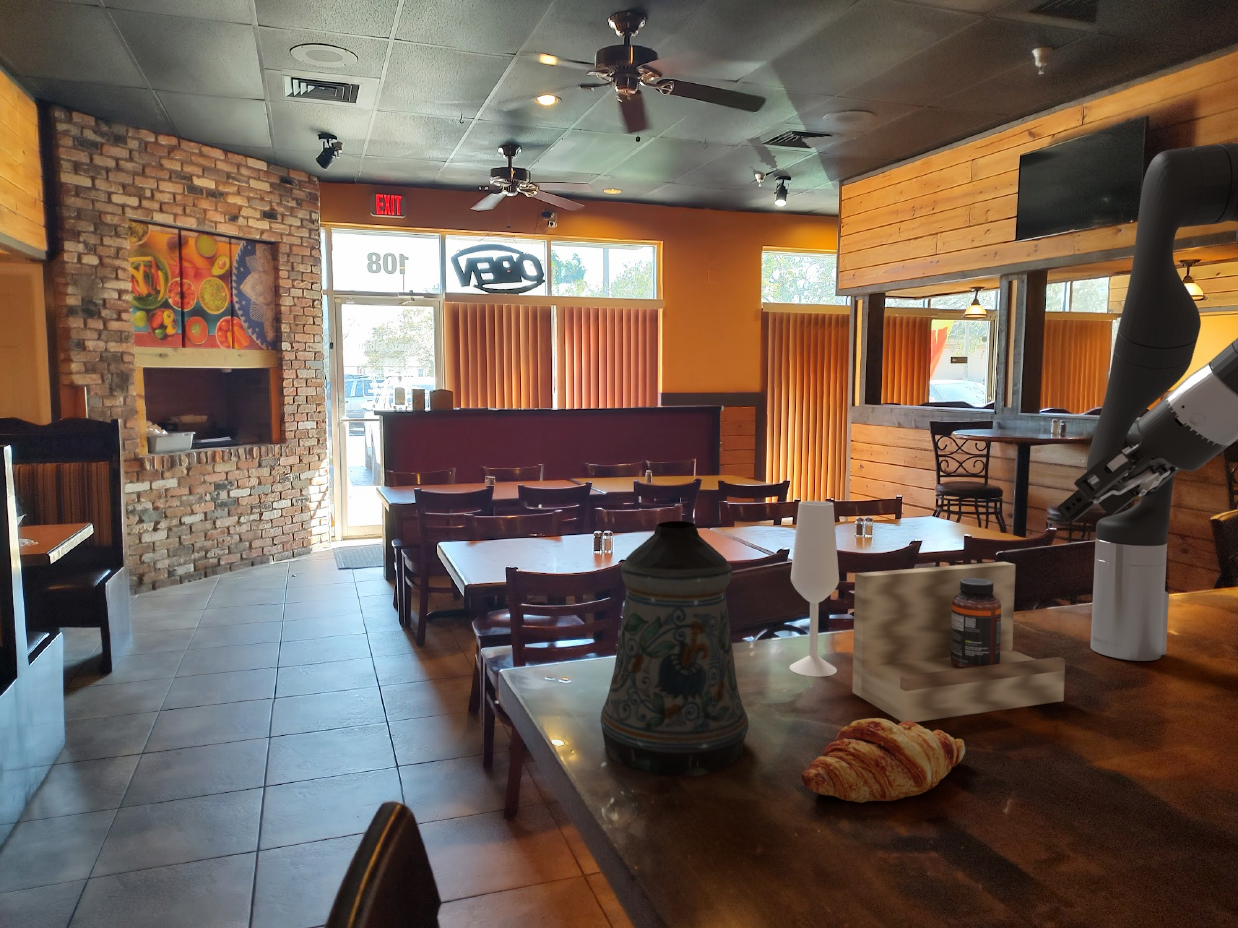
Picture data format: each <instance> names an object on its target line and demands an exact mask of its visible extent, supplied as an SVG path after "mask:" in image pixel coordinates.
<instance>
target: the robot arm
mask: <svg viewBox="0 0 1238 928" xmlns="http://www.w3.org/2000/svg"><path fill="white" fill-rule="evenodd" d="M1147 167H1148V168H1147V169H1146V172H1145V175H1144V179H1143V183H1142V187H1141V194H1140V201H1139V203H1140V204H1139V208H1138V209H1139V210H1138V216H1137V217H1138V218H1137V225H1136V234H1135V241H1134V251H1133V259H1132V267H1131V271H1130V276H1129V281H1128V286H1127V292H1126V296H1125V299H1124V304H1123V308H1122V312H1121V316H1120V318H1119V319H1120V320H1119V323H1118V327H1117V328H1118V329H1117V332H1116V336H1115V337H1116V338H1115V342H1114V347H1113V353H1112V358H1111V359H1112V360H1111V365H1110V370H1109V371H1110V372H1109V377H1108V383H1107V388H1106V392H1105V397H1104V401H1103V404H1102V408H1101V411H1100V415H1099V418H1098V420H1097V423H1096V427H1095V431H1094V433H1093V438H1092V439H1091V444H1090V446H1089V450H1088V451H1089V452H1088V456H1087V460H1086V461H1087V462H1086V472H1084V473H1083V474H1082V476H1080V477H1078V478H1077V479H1076V480H1075V481H1074V482H1073V485H1074V486H1075V487H1076V488H1077V490H1075V491H1074V492H1073V493H1072V494H1070V496H1069V497H1067V498H1066V499H1065V500H1064V501H1063V502H1061V503H1060V504H1059V505H1058V506H1057V511H1058V513H1059V514H1060V515H1061V517H1063V519H1064V520H1065V521H1066V522H1068V523H1072V522H1076V521H1077V520H1078V519H1080V517H1082V516H1083V515H1084V514H1085V513H1087V512H1088V511H1089V510H1091V509H1092V508H1093V507H1094V506H1095V505H1096V504H1098V505H1099V506H1100V507H1101V508H1102V510H1104V512H1105V513H1106V514H1107V515H1109V516H1104V517H1102V518H1100V519H1099V520H1098V521H1097V522H1096V524H1095V525H1096V527H1095V544H1094V545H1095V547H1094V565H1093V586H1092V587H1093V589H1092V608H1091V629H1090V631H1091V632H1090V649H1091V650H1092V651H1093V652H1095V653H1098V654H1100V655H1103V656H1106V657H1111V658H1114V659H1120V660H1125V661H1134V662H1135V661H1137V662H1141V661H1142V662H1146V661H1148V662H1149V661H1157V660H1159V659H1160V658H1161V657H1162V656H1165V655H1167V641H1168V640H1167V637H1168V622H1169V620H1168V619H1169V606H1170V605H1169V603H1170V602H1169V601H1170V594H1169V592H1167V591H1166V574H1167V573H1166V572H1167V570H1166V569H1167V553H1168V552H1167V551H1168V537H1169V535H1168V534H1169V529H1170V528H1169V527H1170V522H1171V510H1172V508H1171V507H1172V499H1173V491H1174V490H1173V489H1174V482H1175V475H1176V474H1178V472H1180V471H1182V470H1183V471H1185V472H1194V471H1197V470H1199V469H1201V468H1202V467H1203V466H1205V465H1206V464H1208V463H1209V462H1210V461H1211V460H1213V459H1214V458H1215V457H1217V456H1218V455H1219V454H1220V453H1222V452H1223V451H1224V450H1226V449H1227V448H1228V447H1230V446H1231V445H1232V444H1233V443H1234V442H1236V441H1237V440H1238V337H1236V339H1235V340H1233V341H1232V342H1231V343H1229V345H1227V346H1226V347H1225V348H1224V349H1222V350H1221V351H1220V352H1219V353H1218V354H1217V355H1216V356H1214V357H1213V358H1212V359H1211V361H1208V362H1207V363H1206V364H1205V365H1203V366H1202V367H1200V368H1198V369H1197V370H1196V371H1194V372H1193V373H1191V374H1190V375H1188V377H1187V378H1185V379H1184V380H1182V381H1181V382H1180V383H1179V384H1178V385H1177V386H1176V387H1174V389H1172V390H1171V388H1173V386H1175V385H1176V384H1177V383H1178V382H1179V381H1180V380H1181V379H1182V378H1183V377H1184V376H1185V374H1186V373H1187V371H1188V370H1189V368H1190V366H1191V364H1192V360H1193V356H1194V353H1195V348H1196V346H1197V342H1198V338H1199V335H1200V330H1201V324H1202V321H1201V315H1200V311H1199V308H1198V306H1197V304H1196V302H1195V301H1194V298H1193V297H1192V295H1191V293H1190V291H1189V289H1188V288H1187V286H1186V285H1185V283H1184V281H1183V280H1182V278H1181V276H1180V274H1179V271H1178V269H1177V267H1176V265H1175V260H1174V243H1175V238H1176V235H1177V231H1178V230H1179V229H1181V228H1188V227H1199V226H1207V225H1209V226H1211V225H1217V224H1222V223H1225V222H1235V223H1238V143H1237V142H1227V143H1226V142H1224V143H1215V144H1209V145H1199V146H1190V147H1189V146H1188V147H1180V148H1179V147H1178V148H1172V149H1167V150H1164V151H1161V152H1159V153H1158V154H1156V155H1155V156H1154V157H1153V158H1152V160H1151V161H1150V163H1149V165H1148V166H1147ZM1236 228H1237V229H1236V235H1235V242H1236V246H1237V247H1236V248H1237V249H1238V227H1236ZM1169 390H1171V391H1170V392H1169V393H1168V394H1167V395H1165V394H1166V393H1167V392H1168V391H1169ZM1164 395H1165V396H1164ZM1162 396H1164V397H1163V398H1162V399H1161V400H1160V401H1158V400H1159V399H1160V398H1161V397H1162ZM1157 401H1158V402H1157ZM1155 402H1157V403H1156V404H1155V405H1154V406H1153V407H1151V406H1152V405H1153V404H1154V403H1155ZM1149 407H1151V408H1150V409H1149ZM1147 409H1149V410H1148V411H1147ZM1145 411H1147V412H1146V413H1144V412H1145ZM1143 413H1144V414H1143ZM1142 414H1143V415H1142ZM1141 415H1142V416H1141ZM1140 416H1141V417H1140ZM1139 417H1140V418H1139ZM1138 418H1139V419H1138ZM1137 419H1138V421H1137ZM1136 421H1137V425H1136V428H1137V432H1138V433H1129V432H1130V430H1131V428H1132V426H1133V425H1134V423H1135V422H1136ZM1137 497H1140V498H1139V500H1138V501H1137V503H1136V504H1135V505H1134V506H1132V507H1130V508H1128V509H1127V510H1125V511H1122V509H1123V508H1124V507H1126V506H1127V505H1128V504H1129V503H1131V502H1132V501H1133V500H1135V499H1136V498H1137ZM1119 511H1122V512H1119ZM1118 512H1119V513H1118Z"/></svg>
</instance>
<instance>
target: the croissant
mask: <svg viewBox="0 0 1238 928" xmlns="http://www.w3.org/2000/svg"><path fill="white" fill-rule="evenodd" d="M965 753H966V746H965V742H964V740H963V739H961V738H956V739H955V738H954V737H952V736H951V735H950V734H948V733H946V732H944V731H943V730H940V729H936V730H933V731H931V730H930V729H928V728H925V727H924V726H922V725H920V724H918V723H917V722H911V721H904V722H901V721H900V722H899V723H898V724H896V723H894V722H893V721H891V720H888V719H886V718H879V717H877V718H872V717H871V718H870V717H869V718H863V719H857V720H854V721H852V722H851V723H850V724H848V725H845V726H844V727H843V728H840V731H839V732H838V733H837V735H836V738H835V740H834V741H833V742H830V743H829V744H827V745H826V747H825V748H824V750H823V754H822V755H821V756H820V755H819V756H818V757H817V758H816V759H814V760H813V761H811V763H810V764H809V766H808V767H807V769H806V770H803V771H802V772H801V775H800V777H801V780H802V783H803V785H804V787H805V788H806V789H809V790H810V791H812V792H814V793H817V794H820V795H824V796H831V797H836V798H839V799H840V800H844V801H847V802H856V803H860V804H861V803H865V802H873V801H874V802H877V801H878V802H891V801H897V800H898V801H899V800H901V799H903V798H907V797H912V796H913V797H914V796H918V795H922V794H924V793H925V792H927V791H930V790H932V789H934V788H935V787H936V786H937V785H939V783H940V781H941V780H942V779H944V778H946V776H947V775H948V774H949V773H950V772H951V771H952V768H954V767H956V766H957V765H959V763H960V762H961V761H962V760H963V758H964V757H965Z"/></svg>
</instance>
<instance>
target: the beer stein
mask: <svg viewBox="0 0 1238 928" xmlns="http://www.w3.org/2000/svg"><path fill="white" fill-rule="evenodd" d="M620 572H621V579H622V581H623V583H624V585H625V598H624V599H625V600H624V605H623V611H622V619H621V626H620V632H619V638H618V643H617V649H616V656H615V663H614V668H613V674H612V677H611V680H610V681H611V682H610V685H609V690H608V694H607V697H606V699H605V702H604V705H603V706H602V709H601V713H600V725H601V726H600V727H601V731H602V737H603V742H604V746H605V747H604V748H605V751H606V752H607V753H608V755H609V757H610V758H611V759H612V760H613V761H615V762H617V763H618V764H620V765H623V766H624V767H626V768H627V769H630V770H634V771H638V772H643V773H646V774H651V775H654V776H661V777H665V776H666V777H699V776H702V775H706V774H709V773H712V772H716V771H719V770H723V769H727V768H728V767H730V766H731V765H732V764H733V763H735V762H736V761H737V760H738V759H739V758H741V757H742V755H743V753H744V743H745V739H746V736H747V733H748V730H749V726H750V725H749V718H748V715H747V712H746V710H745V707H744V705H743V704H742V700H741V696H740V692H739V691H740V690H739V687H738V679H737V674H736V668H735V667H736V666H735V659H734V658H735V657H734V650H733V649H734V648H733V642H732V635H731V633H732V632H731V625H730V618H729V617H730V616H729V610H728V605H727V595H726V594H727V593H726V592H727V591H726V589H727V588H728V586H729V585H730V583H731V579H732V574H733V567H732V566H731V564H730V563H729V562H728V561H727V559H726V558H725V556H723V555H722V554H721V553H720V552H719V551H718V550H716V549H715V548H714V547H713V546H712V545H711V544H709V542H707V541H706V540H705V539H704V538H703V537H702V536H700V533H699V530H698V528H697V526H696V524H695V523H693V522H689V521H683V520H672V521H671V520H670V521H669V520H668V521H663V522H659V523H658V524H657V525H656V527H655V530H654V533H653V534H652V535H651V536H649V538H647V539H646V540H645V541H644V542H643V543H642V544H640V545H639V546H638V547H637V548H635V549H634V550H633V551H632V552H630V554H629V555H628V556H626V558H625V560H624V561H623V562H622V563H621V566H620Z"/></svg>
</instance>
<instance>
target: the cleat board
mask: <svg viewBox="0 0 1238 928" xmlns="http://www.w3.org/2000/svg"><path fill="white" fill-rule="evenodd" d="M965 578H980V579H986V580H990V581H992V582H993V584H994V585H993V590H994V591H993V596H994V597H995V598H997V599H998V600H999V601H1000V603H1001V641H1000V664H996V665H988V666H980V667H972V668H964V669H959V668H957V667H956V666H954V665H953V664H952V663H951V614H952V600H953V598H954V597H955V596H956V595H958V594H959V593H960V592H961V590H960V580H961V579H965ZM1015 585H1016V563H1011V562H1007V561H997V562H995V561H994V562H986V563H984V562H983V563H973V564H972V563H971V564H959V565H946V566H933V567H920V568H919V567H918V568H908V569H906V568H905V569H895V570H883V571H869V572H868V571H867V572H855V573H854V605H853V606H854V609H853V612H854V613H853V614H854V616H853V645H852V646H853V648H852V649H853V652H852V653H853V655H852V656H853V658H852V694H853V695H856V696H858V697H859V698H861V699H863V700H864V701H866V702H868V703H870V705H872V706H874V707H876V708H877V709H880V710H881V711H883V712H884V713H886V714H887V715H889V716H892V718H895V719H896V720H898V721H900V723H901V722H904V721H911V722H914V723H918V722H926V721H932V720H933V721H934V720H939V719H940V720H941V719H945V718H955V717H960V716H968V715H974V714H981V713H988V712H995V711H996V712H997V711H1001V710H1002V711H1003V710H1009V709H1010V710H1011V709H1016V708H1017V709H1019V708H1023V707H1031V706H1037V705H1044V704H1053V703H1057V702H1058V703H1059V702H1064V698H1065V695H1064V694H1065V673H1066V672H1065V671H1066V658H1063V657H1061V656H1055V657H1047V658H1039V659H1036V658H1033V657H1031V656H1028V655H1026V654H1023V653H1021V652H1018V651H1016V650H1013V640H1014V638H1013V637H1014V616H1015V615H1014V613H1015V612H1014V611H1015V587H1016V586H1015Z"/></svg>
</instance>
